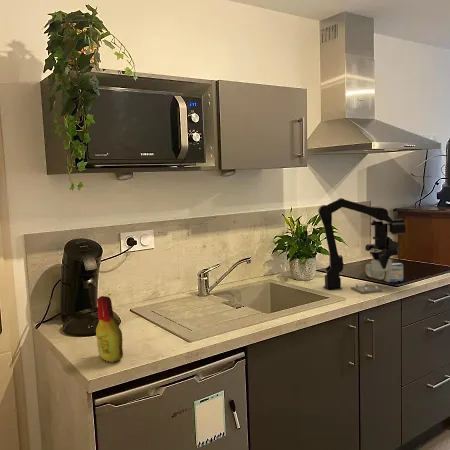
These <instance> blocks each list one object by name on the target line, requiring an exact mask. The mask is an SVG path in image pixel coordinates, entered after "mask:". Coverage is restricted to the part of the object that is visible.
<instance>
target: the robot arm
mask: <svg viewBox="0 0 450 450" xmlns="http://www.w3.org/2000/svg"><path fill="white" fill-rule="evenodd" d="M341 208H344V209H348V210H351V211H355V212H358V213H363V214H365V215H368V216H370V217H372V218H374V219H373V220H372V221H371V222H370V223H369V225H370V226H373V227H374V236H372V240H374V243H370V244H369V243H368V244H366V245H365V247H364V248H365V251H367V252H369V254H370V255H371V256H372V258H373V259H372V260H375V259H380V261H381V264H382V267H383V269H385V268H386V265H387V262H388V260H389V259H390V258H391V257H392V256H399V247H400V242H398V241H394V240H393V239H392V238H391V237H390V236H388V233H390V234H391V235H405V234H406V225H405V219H403V218H399V219H392V218H391V217H390V216H389V211H388V210H387V208H385V207H383V206H382V207H381V206H371V205H365V204H361V203H359V202H355V201H350V200H348V199H345V198H342V197H341V198H338V199H336V200H335V201H332V202H330V203H328V204H327V205H326V204H322V205H321V206H319V207H318V211H317V212H318V213H317V214H319V217H320V220H321V223H322V224H323V229H324V234H325V239H326V244H327V248H328V253H329V257H328V258H329V260H328V261H329V263H328V264H329V265H328V266H327V267H326V268H325V270H324V271H325V273H326V274H325V275H324V285H323V288H324V289H327V290H329V291H331V290H332V291H333V290H342V288H343V287H342V286H341V285H342V283H341V281H342V280H341V279H342V278H341V276H340V273H342V272H343V270H344V266H345V264H344V258H343V255H342V254H339V253H338V248H337V244H336V238H335V234H334V229H333V224H332V223H333V213H335V212H337V211H338V210H339V209H341ZM375 219H376V220H375ZM377 220H378V221H377Z"/></svg>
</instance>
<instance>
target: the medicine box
mask: <svg viewBox="0 0 450 450" xmlns="http://www.w3.org/2000/svg"><path fill="white" fill-rule="evenodd" d="M383 281H385V282H386V283H390V282H392V283H399V282H398V281H400V282H403V281H404V264H403V263H401V262H392V270H389V271H386V278H385V279H384V280H383Z"/></svg>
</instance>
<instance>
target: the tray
mask: <svg viewBox="0 0 450 450" xmlns="http://www.w3.org/2000/svg"><path fill="white" fill-rule="evenodd" d="M350 289H351V290H352V291H355V292H357V293H360V294H361V295H365V294H373V293H381V292H382V293H383V289H382V288H381V287H378V286H377V285H376V286H374V285H373V284H369V283H368V282H364V285H359V283H355V285H354V286H350Z"/></svg>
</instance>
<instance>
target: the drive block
mask: <svg viewBox="0 0 450 450" xmlns="http://www.w3.org/2000/svg"><path fill="white" fill-rule="evenodd" d="M370 262H372V270H373V271H376V272H379V271H389V270H392V263H393V260H392V259H390V258H389V260H388V262H387V265H386V268H385V269H383V267H382V264H381V261H380V259H375V260H374V259H372V260H371V261H370Z"/></svg>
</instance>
